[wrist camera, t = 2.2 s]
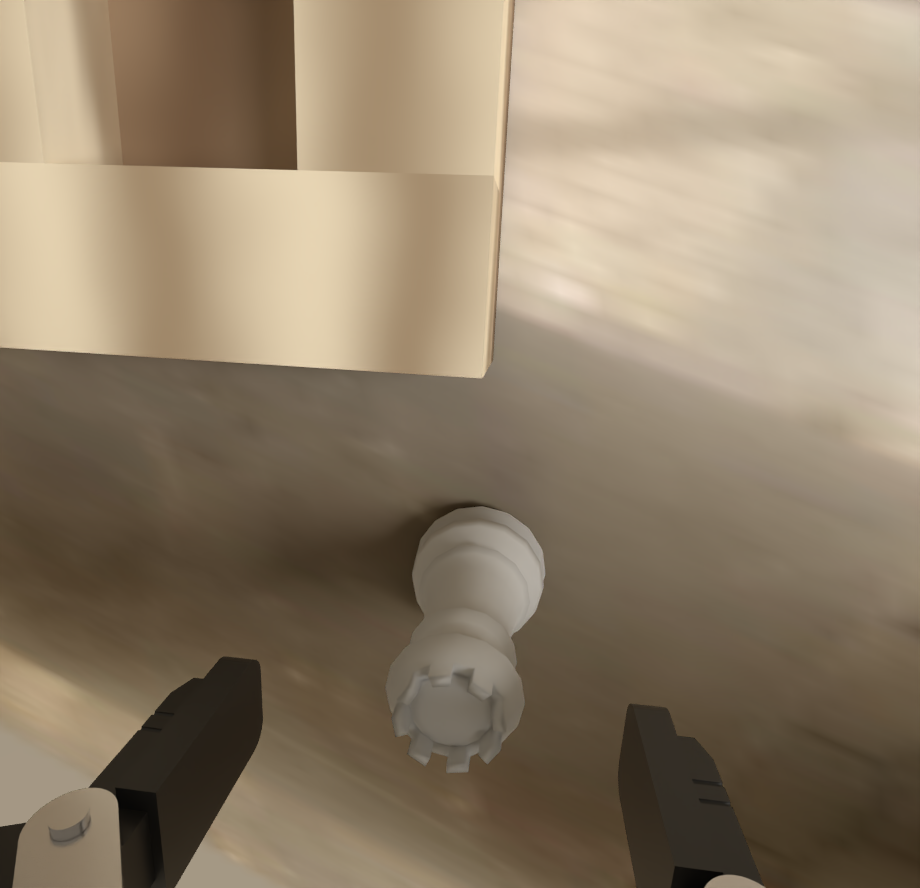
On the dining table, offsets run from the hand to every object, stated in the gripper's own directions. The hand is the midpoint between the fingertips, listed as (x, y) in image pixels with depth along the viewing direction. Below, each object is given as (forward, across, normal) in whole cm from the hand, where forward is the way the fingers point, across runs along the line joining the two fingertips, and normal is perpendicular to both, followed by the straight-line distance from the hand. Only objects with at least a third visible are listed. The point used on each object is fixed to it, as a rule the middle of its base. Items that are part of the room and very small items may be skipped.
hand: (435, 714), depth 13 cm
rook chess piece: (+8, 0, 0) cm, 8 cm away
